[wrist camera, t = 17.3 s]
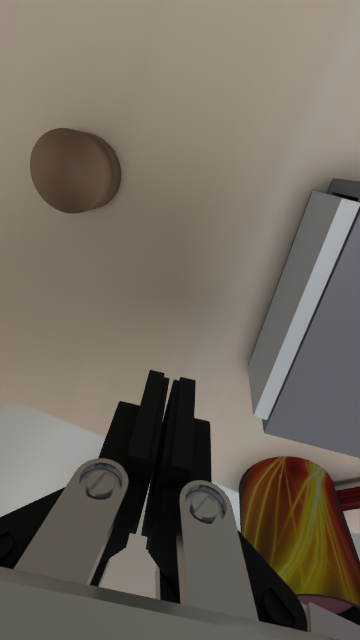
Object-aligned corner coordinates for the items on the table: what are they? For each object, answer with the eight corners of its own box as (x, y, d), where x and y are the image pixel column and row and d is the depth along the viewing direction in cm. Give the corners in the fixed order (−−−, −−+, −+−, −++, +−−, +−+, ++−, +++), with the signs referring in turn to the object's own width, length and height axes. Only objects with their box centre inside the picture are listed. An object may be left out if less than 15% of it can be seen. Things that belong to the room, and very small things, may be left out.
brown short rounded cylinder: (53, 198, 26) (29, 203, 23) (57, 125, 24) (31, 119, 21) (115, 214, 26) (100, 221, 23) (125, 142, 24) (110, 138, 21)
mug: (391, 475, 33) (472, 626, 22) (281, 533, 38) (303, 678, 28) (325, 417, 31) (379, 550, 20) (220, 486, 37) (217, 622, 26)
